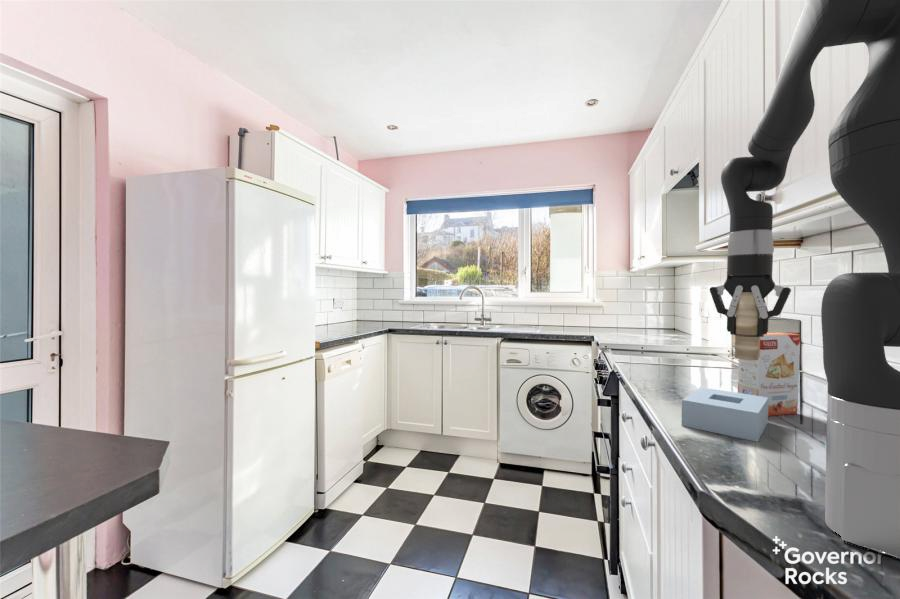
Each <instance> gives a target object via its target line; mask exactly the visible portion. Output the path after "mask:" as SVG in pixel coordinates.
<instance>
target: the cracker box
mask: <svg viewBox="0 0 900 599" xmlns="http://www.w3.org/2000/svg"><path fill="white" fill-rule="evenodd" d="M800 353H801V334H799V333H794V332H793V333H792V332H790V333H789V332H776V331H775V332H769V331H768V332H767V334H764V336H763V337H759V357H758V360H742V359H738V372H737V373H738V374H737V393H742V394H749V395H756V396H762V397H769V399H768V417H770V416H783V415H793V414H794V415H797V414H798V406H799V405H798V401H799V382H800V381H799V378H800V355H801V354H800Z"/></svg>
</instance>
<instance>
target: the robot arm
mask: <svg viewBox="0 0 900 599" xmlns="http://www.w3.org/2000/svg"><path fill="white" fill-rule="evenodd" d="M860 43H864V44H865V45H866V47H867V51H868V67H867V73H866V76H865V78H864V79H863V81H862V83H861V85H860V86H859V88H858V89H857V90H856V92H855V93H854V95H853V96H852V98H850V99H849V101H848V102H847V104H846V105H845V107H844V109H843V110H842V111H841V113H840V114H839V116H838V117H837V119H836V120H835V122H834V123H833V125H832V127H831V129H830V132H829V135H828V139H827V140H828V141H827V142H828V143H827V146H828V147H827V148H828V161H829V163H828V164H829V174H830V179H831V183H832V185H833V188H834V189H835V190H836V192H837V193H838V195H839V196H840V197H841V199H842V200H844V202H846V204H847V205H848V206H849V207H850V208H851V209H852V211H854V212H855V213H856V215H858V216H859V217H860V218H861V219H862V220H863V221H864V222H865V223H866V224H867V225H868V226H869V227H870V228H871V230H872V231H873V232H874V234H875V235H876V237H877V238H878V239H879V242H880V243H881V246H882V249H883V252H884V256H885V259H886V264H887V269H888V271H887V272H884V271H883V272H880V271H879V272H874V271H873V272H848V273H843V274H840V275H837V276H836V277H834V278H833V279H831V281H830V282H829V283H828V285H826V286H827V287H826V288H825V290H824V293H823V295H822V301H821V311H820V312H821V314H820V316H821V317H820V318H821V320H820V322H821V333H822V334H821V335H822V336H821V337H822V359H823V360H822V361H823V369H824V374H825V377H826V380H827V406H826V407H827V409H826V411H827V412H826V414H827V415H826V444H825V447H826V448H825V449H826V451H825V454H826V455H825V490H824V492H825V496H824V497H825V499H824V500H825V502H824V504H825V505H824V507H825V508H824V509H825V510H824V512H825V513H824V515H825V516H824V523H825V525H826V526H827V527H828V528H829V529H830V530H831V531H833V533H835V532H836V533H837V535H838V534H839V535H840V536H841V537H840V536H839V535H838V536H839V537H840V540H841V539H842V540H845V541H848V542H851V543H854V544H858V545H861V546H866V547H869V548H875V549H878V550H881V551H884V552H887V553H890V554H892V555H895V556H897V557H899V558H900V370H897V369H896V368H894V367H893V366H892V365H890V364H889V362H888V361H887V356H886V353H885V347H890V348H891V347H892V348H895V347H896V348H897V347H898V348H899V347H900V0H806V2H805V4H804V6H803V8H802V12H801V14H800V16H799V18H798V21H797V24H796V27H795V29H794V32H793V34H792V37H791V40H790V42H789V46H788V49H787V51H786V54H785V57H784V61H782V66H781V68H780V72H779V75H778V78H777V80H776V84H775V86H774V89H773V92H772V94H771V97H770V100H769V102H768V104H767V107H766V109H765V110H764V112H763V114H762V116H761V118H760V120H759V121H758V123H757V125H756V127H755V129H754V131H753V132H752V134H751V136H750V138H749V140H748V144H747V150H748V152H749V154H750V155H751V156H742V157H734V158H731V159H729V160H728V161H727V162H726V163H725V165H724V166H723V168H722V170H721V173H720V174H721V176H720V181H721V182H720V183H721V187H722V189H723V192H724V195H725V198H726V203H727V206H728V210H729V238H728V241H727V261H726V262H727V264H726V265H727V266H726V269H727V270H726V280H725V282H724V283H723V284H721V285H718V286H711V287H710V288H709V293H710V296H711V297H712V301H713V305H714V307H715V309H716V312H717V313H718V314H721V315H724V316H726V330H727V332H729V333H730V335H732V336H735V324H736V308H737V305H738V302H739V299H740V295H741V293H742V292H752V293H753V296H754V299H755V302H756V305H757V308H758V310H759V313H760V319H759V328H758V337H763V336H764V334H767V332H769V320H770V319H771V318H772V317H773V318H774V317H778V316H780V315H781V313H782V311H783V309H784V307H785V304H786V302H787V300H788V298H789V297H790V295H791V292H792V289H791V287H789V286H788V287H787V286H786V287H785V286H781V285H777V284H776V283H775V282H774V280H773V266H774V265H773V261H774V260H773V259H774V251H775V250H774V249H775V248H774V237H773V221H774V218H773V216H774V215H773V214H774V212H773V208H774V207H773V205H772V204H771V203H770V202H766V201H761V200H755V199H752V198H751V197H750V196H749V194H748V193H749V192H767V191H771V190H773V189H775V188H776V187H778V186H780V184H782V182H783V181H784V179H785V177H786V173H787V169H788V163H789V160H790V157H791V154H792V151H793V149H794V147H795V145H796V144H797V143H798V141H799V139H800V138H801V136H802V135H803V134H804V132H805V130H806V129H807V127H808V126H809V124H810V122H811V120H812V118H813V115H814V112H815V105H816V103H815V102H816V101H815V95H814V91H813V86H812V79H811V77H812V76H811V73H812V71H811V70H812V67H813V64H814V63H815V61H816V59H817V57H818V56H819V54H820V53H821V52H822V50H823V49H825V48H831V47H835V46H836V47H837V46H845V45H851V44H852V45H853V44H860ZM773 290H774V291H775V296H777V297H778V299H777V300H776V303H775V304H774V306H773V309H772V310H769V308H768V305H767V303H766V297H768V295H769V294H770V293H771V292H772V291H773ZM724 291H726V292H727V293H728V294H729V296H730V297H731V298H732V299H731V300H730V303H729V307H728V308H726V306H725V303H724V301H723V299H722V296H723V295H724ZM836 533H835V534H836ZM842 540H841V541H842Z"/></svg>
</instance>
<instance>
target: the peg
mask: <svg viewBox="0 0 900 599" xmlns="http://www.w3.org/2000/svg"><path fill="white" fill-rule="evenodd" d="M735 317H736V324H735V335H734V358H735V359H737V360H739V359H742V360H758V357H759V337H758V328H759V319H760V313H759V310H758V308H757V305H756V302H755V299H754V296H753V293H752V292H742V293H741V295H740V299H739V302H738V305H737V308H736V315H735Z"/></svg>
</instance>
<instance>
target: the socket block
mask: <svg viewBox="0 0 900 599" xmlns="http://www.w3.org/2000/svg"><path fill="white" fill-rule="evenodd" d="M768 399H769V397H762V396H756V395H749V394H742V393H738V392H736V391H728V390H722V389H721V390H720V389H714V388H707V387H701V386H700V387H699V388H697V389H696V390H695V391H693V392H692V393H690V394H689V395H687V396H686V397H684V398H682V400H681V426H682V427H687V428H690V429H691V428H692V429H696V430H700V429H701V430H700V431H706V432H710V433H715V434H718V435H719V434H720V435H724V436H728V437H734V438H737V439H742V440H748V441H752V442H759V440H760V438H761V436H762V434H763V433H764V431H765V429H766V427H767V425H768V424H769V416H768Z"/></svg>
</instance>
